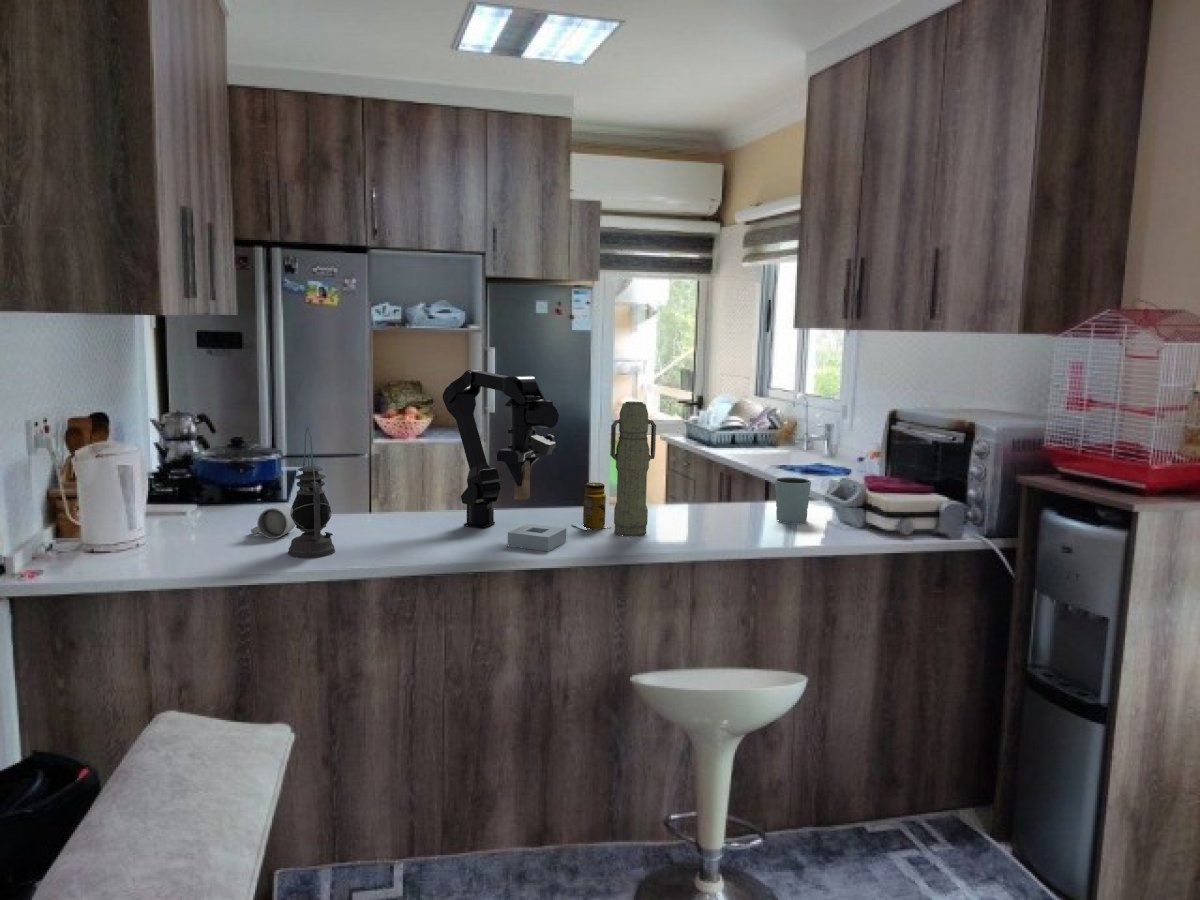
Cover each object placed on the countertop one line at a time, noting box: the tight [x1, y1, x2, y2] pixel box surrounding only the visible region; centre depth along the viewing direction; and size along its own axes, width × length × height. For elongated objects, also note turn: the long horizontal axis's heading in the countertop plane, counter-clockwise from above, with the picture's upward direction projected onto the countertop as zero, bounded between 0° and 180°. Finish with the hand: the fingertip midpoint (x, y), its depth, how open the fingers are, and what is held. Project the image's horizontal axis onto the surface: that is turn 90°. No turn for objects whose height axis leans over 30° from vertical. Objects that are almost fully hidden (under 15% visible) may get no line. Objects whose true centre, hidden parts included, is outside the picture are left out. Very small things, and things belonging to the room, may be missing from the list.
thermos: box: [609, 401, 657, 537], centre depth 231 cm, size 9×12×35 cm
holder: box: [507, 523, 567, 552], centre depth 218 cm, size 11×11×4 cm
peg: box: [513, 460, 531, 501], centre depth 225 cm, size 3×3×10 cm
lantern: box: [287, 425, 336, 559], centre depth 203 cm, size 12×11×30 cm
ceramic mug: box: [250, 504, 296, 540], centre depth 221 cm, size 11×8×8 cm
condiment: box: [582, 482, 611, 531], centre depth 238 cm, size 7×8×12 cm
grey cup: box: [774, 476, 812, 525], centre depth 252 cm, size 10×10×12 cm
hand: (522, 485), depth 225 cm, fingers closed on peg, 3 cm apart
